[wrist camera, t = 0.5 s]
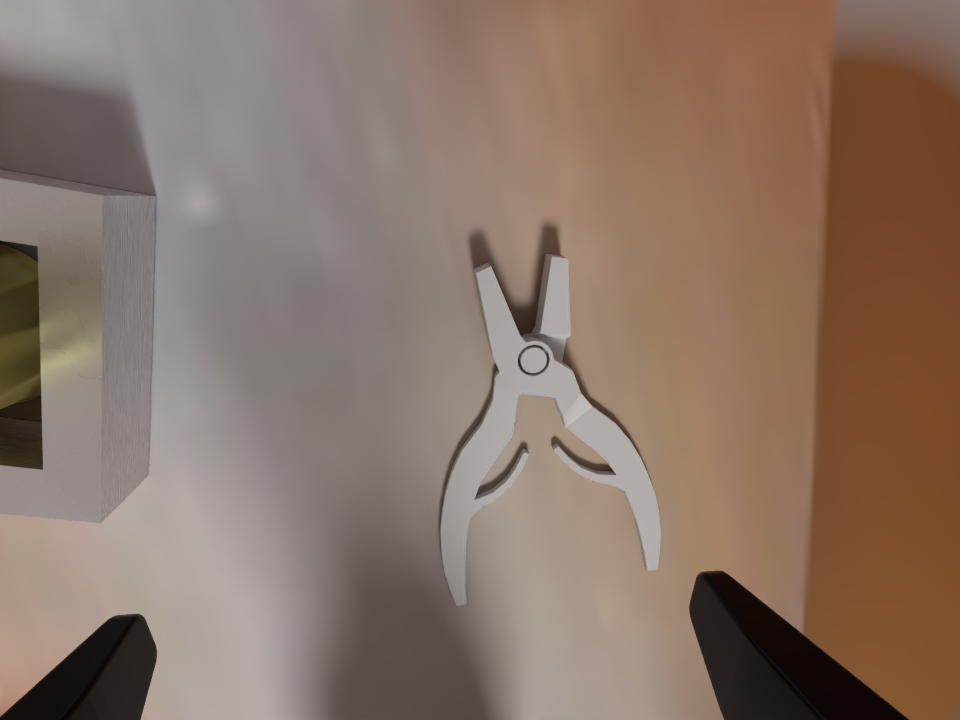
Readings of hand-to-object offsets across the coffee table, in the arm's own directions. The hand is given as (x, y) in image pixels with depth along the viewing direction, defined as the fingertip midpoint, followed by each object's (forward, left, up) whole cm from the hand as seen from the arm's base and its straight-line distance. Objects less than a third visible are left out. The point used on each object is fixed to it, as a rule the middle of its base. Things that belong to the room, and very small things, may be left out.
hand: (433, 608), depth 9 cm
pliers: (-2, -5, -15) cm, 16 cm away
